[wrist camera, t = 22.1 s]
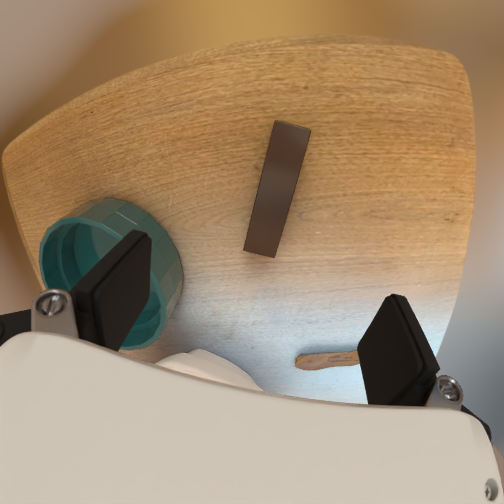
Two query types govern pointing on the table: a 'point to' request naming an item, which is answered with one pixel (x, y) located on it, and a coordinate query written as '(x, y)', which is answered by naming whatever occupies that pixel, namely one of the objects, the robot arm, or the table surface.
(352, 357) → the stone tool
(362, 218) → the table surface
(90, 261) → the mixing bowl
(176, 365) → the bowl
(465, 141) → the table surface
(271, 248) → the brown wooden block
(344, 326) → the table surface
